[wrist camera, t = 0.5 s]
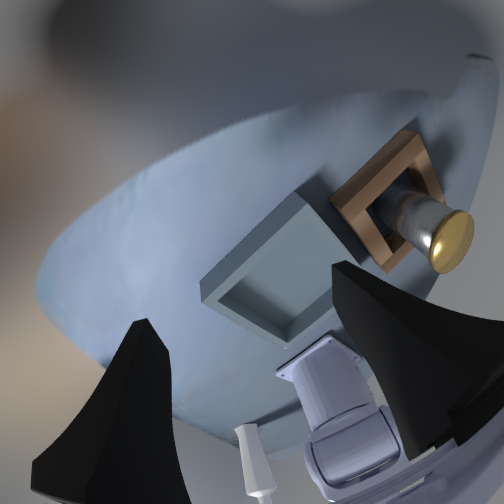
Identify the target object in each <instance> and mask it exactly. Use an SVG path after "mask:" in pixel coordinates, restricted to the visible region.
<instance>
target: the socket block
mask: <svg viewBox="0 0 504 504" xmlns="http://www.w3.org/2000/svg"><path fill="white" fill-rule="evenodd" d="M406 168H407V170H408V172H409V174H410V176H411V178H412V180H413V183H414V185H415V187H416V189H418V190H420V191H422V192H424V193H426V194H428V195H429V196H431V197H433V198H435V199H436V200H438V201H440V202H442V203H443V204H445V205H446V202H445V199H444V196H443V193H442V190H441V187H440V184H439V181H438V179H437V176H436V173H435V171H434V168H433V166H432V163H431V161H430V158H429V156H428V154H427V151H426V149H425V147H424V144H423V142H422V140H421V138H420V136H419V133H416V132H412V131H408V130H405V129H401V130H400V131H399V132H398V133H397V134H396V135H395V136H394V137H393V138H392V139H391V140H390V141H389V142H388V143H387V144H386V145H385V146H384V147H383V148H382V149H381V150H380V151H379V152H378V153H377V154H376V155H375V156H373V157H372V158H371V159H370V160H369V161H368V162H367V163H366V164H365V165H364V166H363V167H362V168H361V169H360V170H359V171H358V172H357V173H356V174H355V175H354V176H353V177H352V178H350V179H349V180H348V181H347V182H346V183H345V184H344V185H343V186H342V187H341V188H340V189H339V190H338V191H337V192H336V193H335V194H334V195H333V196H331V197H330V198H329V199H328V200H329V201H330V203H331V204H332V205H333V206H334V208H335V209H336V210H337V211H338V213H339V214H340V215H341V217H342V218H343V219H344V220H345V222H346V223H347V224H348V226H349V227H350V228H351V230H352V231H353V232H354V234H355V235H356V236H357V238H358V239H359V240H360V242H361V243H362V245H363V246H364V247H365V249H366V250H367V252H368V253H369V254H370V256H371V257H372V259H373V260H374V261H375V263H376V264H377V265H378V266H379V267H380V268H381V269H382V270H383V271H384V272H385V273H386V274H387V273H388V272H390V271H391V270H392V269H393V268H394V267H395V266H396V265H397V264H398V263H399V262H400V261H401V260H402V259H403V258H404V257H405V256H406V255H407V254H408V253H409V252H410V251H411V250H412V249H413V248H414V246H413V245H412V244H410V243H409V242H408V241H407V240H405V239H404V238H403V237H402V236H400V235H399V234H398V233H397V232H395V231H393V232H392V233H391V234H390V235H389V236H388V237H387V238H386V239H385V240H384V238H383V237H382V235H381V234H380V232H379V230H378V229H377V227H376V226H375V224H374V222H373V221H372V219H371V218H370V216H369V215H368V213H367V212H366V210H365V209H366V208H367V207H368V206H369V205H370V204H371V203H372V202H373V201H374V200H375V199H376V198H377V197H378V196H379V195H380V194H381V193H382V192H383V191H384V190H385V189H386V188H387V187H388V186H389V185H390V184H391V183H392V182H393V181H394V180H395V179H396V178H397V177H398V176H399V175H400V174H401V173H402V172H403V171H404V170H405V169H406Z"/></svg>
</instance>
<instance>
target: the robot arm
mask: <svg viewBox="0 0 504 504" xmlns="http://www.w3.org/2000/svg"><path fill="white" fill-rule="evenodd" d="M331 269H332V304H333V306H334V308H335V310H336V312H337V314H338V316H339V318H340V320H341V322H342V324H343V325H344V327H345V329H346V330H347V332H348V333H349V335H350V336H351V338H352V339H353V341H354V342H355V344H356V345H357V347H358V348H359V350H360V351H361V353H362V354H363V356H364V358H365V359H366V361H367V362H368V364H369V365H370V367H371V369H372V371H373V372H374V374H375V376H376V378H377V380H378V383H379V384H380V387H381V389H382V391H383V393H384V396H385V397H386V400H387V402H388V405H389V406H385V405H382V406H380V407H379V409H378V407H377V405H376V404H375V400H374V396H373V393H372V391H371V390H370V388H369V386H368V384H367V382H366V380H365V379H364V377H363V375H362V373H361V371H360V370H359V368H358V366H357V364H356V363H357V362H358V361H360V360H361V357H360V356H359V355H358V354H357V353H355V352H354V351H352V350H351V349H349V348H348V347H347V346H345V345H344V344H342V343H341V342H339V341H338V340H337V339H335V338H334V337H332V336H331V335H326V336H324V337H323V338H322V339H320V340H319V341H318V342H316V343H315V344H314V345H312V346H311V347H310V348H308V349H307V350H306V351H304V352H303V353H302V354H300V355H299V356H297V357H296V358H295V359H293V360H292V361H290V362H289V363H288V364H286V365H285V366H283V367H282V368H280V369H279V370H277V371H276V372H275V374H276V376H277V377H280V378H283V379H285V380H288V381H290V382H293V383H294V385H295V388H296V391H297V393H298V396H299V399H300V401H301V404H302V406H303V409H304V412H305V414H306V417H307V420H308V422H309V425H310V428H311V430H312V433H309V437H310V439H311V441H309V442H307V443H306V446H305V448H304V459H305V463H306V466H307V469H308V471H309V473H310V475H311V477H312V479H313V480H314V481H315V483H316V484H317V485H318V486H319V488H320V490H321V492H322V494H323V496H324V497H325V498H327V500H328V501H331V502H333V503H330V504H487V503H488V502H489V500H490V499H491V498H492V497H493V496H494V495H495V494H496V492H497V491H498V490H499V489H500V488H501V486H502V485H503V484H504V321H498V320H490V319H484V318H479V317H474V316H470V315H466V314H462V313H459V312H455V311H452V310H449V309H445V308H443V307H440V306H437V305H434V304H432V303H429V302H427V301H424V300H422V299H419V298H417V297H415V296H413V295H411V294H409V293H406V292H404V291H402V290H400V289H398V288H396V287H394V286H392V285H390V284H389V283H387V282H385V281H383V280H381V279H379V278H377V277H376V276H374V275H372V274H370V273H368V272H367V271H365V270H363V269H361V268H360V267H358V266H356V265H354V264H352V263H351V262H349V261H347V260H344V261H341V262H338V263H335V264H332V265H331ZM379 410H380V411H379ZM433 446H434V447H435V448H436V450H435V451H434V452H432V453H431V454H429V455H427V456H426V457H424V458H423V459H421V460H420V461H418V462H417V463H415V464H413V465H412V463H413V459H415V458H416V457H418V456H420V455H421V454H423V453H424V452H426V451H427V450H429V449H430V448H432V447H433ZM389 459H391V460H390V461H388V460H389ZM386 461H388V462H387V463H385V464H383V465H382V466H379V465H380V464H382V463H384V462H386ZM377 466H379V467H378V468H375V467H377ZM373 468H375V469H373ZM371 469H373V470H372V471H369V472H368V473H365V474H363V475H361V476H359V477H356V478H354V479H352V480H349V479H351V478H353V477H355V476H358V475H360V474H362V473H364V472H366V471H368V470H371ZM425 475H426V476H425ZM424 476H425V478H424V481H423V482H422V483H420V484H418V485H415V486H413V487H411V488H410V489H408V490H406V491H404V492H403V493H400V490H402V489H404V488H406V487H407V486H409V485H411V484H412V483H414V482H416V481H417V480H419V479H421V478H422V477H424ZM346 480H349V481H346ZM31 490H32V491H33V492H35V493H37V494H39V495H41V496H44V497H46V498H49V499H52V500H54V501H57V502H60V503H63V504H192V503H191V501H190V498H189V495H188V493H187V490H186V486H185V484H184V480H183V476H182V473H181V469H180V465H179V461H178V457H177V452H176V446H175V441H174V435H173V426H172V379H171V366H170V358H169V351H168V349H167V348H166V346H165V345H164V343H163V342H162V340H161V339H160V337H159V336H158V334H157V333H156V331H155V330H154V328H153V327H152V325H151V324H150V322H149V320H148V319H147V318H146V319H142V320H138V321H134V322H133V323H132V325H131V326H130V328H129V330H128V332H127V333H126V335H125V337H124V339H123V341H122V343H121V344H120V346H119V348H118V350H117V352H116V354H115V356H114V357H113V359H112V361H111V363H110V365H109V367H108V368H107V370H106V372H105V373H104V375H103V377H102V379H101V380H100V382H99V384H98V386H97V387H96V389H95V390H94V392H93V394H92V395H91V397H90V398H89V400H88V401H87V402H86V404H85V405H84V407H83V408H82V410H81V411H80V412H79V414H78V415H77V416H76V417H75V419H74V420H73V421H72V422H71V424H70V425H69V426H68V427H67V428H66V430H65V431H64V432H63V433H62V434H61V435H60V436H59V437H58V438H57V439H56V440H55V441H54V443H53V444H51V446H49V447H48V448H47V449H46V450H45V451H44V452H43V453H42V454H41V455H39V456H38V457H37V458H36V459H35V460H33V462H32V473H31ZM43 504H47V503H43Z"/></svg>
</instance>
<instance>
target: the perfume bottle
mask: <svg viewBox="0 0 504 504" xmlns="http://www.w3.org/2000/svg"><path fill="white" fill-rule="evenodd" d="M234 430H235V432H236V433H237V435H238V437H239V444H240V451H241V459H242V465H243V472H244V479H245V486H246V492H247V495H251V496H254V497H258V500H259V504H273V503H272V499H271V496H270V495H271V494H272V493H273V492H274V491H275V490H276V489H277V486H276V483H275V481H274V478H273V475H272V473H271V470H270V467H269V465H268V462H267V459H266V456H265V454H264V451H263V448H262V445H261V442H260V440H259V437H258V434H257V424H242V425H240V426H239V427H237V428H236V429H234Z"/></svg>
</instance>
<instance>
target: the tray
mask: <svg viewBox="0 0 504 504" xmlns="http://www.w3.org/2000/svg"><path fill="white" fill-rule="evenodd" d="M344 260H347V261H349V262H351V263H352V264H354V265H356V266H358V267H360V268H361V266H360V265H359V264H358V263H357V261H356V260H355V259H354V258H353V256H352V255H351V254H350V253H349V251H348V250H347V249H346V248H345V246H344V245H343V244H342V243H341V242H340V240H339V239H338V238H337V237H336V236H335V234H334V233H333V232H332V231H331V230H330V228H329V227H328V226H327V225H326V224H325V223H324V221H323V220H322V219H321V218H320V217H319V216H318V214H317V213H316V212H315V211H314V210H313V209H312V208H311V206H310V205H309V204H308V203H307V202H306V201H305V200H304V199H303V198H301V197H300V196H299V195H298V194H297V193H296V192H295V191H294V192H293V193H291V194H290V195H289V196H288V197H287V198H286V199H285V200H284V201H283V202H282V203H281V204H280V205H279V206H278V207H277V208H276V209H275V210H274V211H273V212H271V213H270V214H269V215H268V216H267V217H266V218H265V219H264V220H263V221H262V222H261V223H260V224H259V225H258V226H257V227H256V228H255V229H254V230H253V231H252V232H251V233H250V234H248V235H247V236H246V237H245V238H244V239H243V240H242V241H241V242H240V243H239V244H238V245H237V246H236V247H235V248H234V249H233V250H232V251H231V252H230V253H229V254H228V255H227V256H226V257H225V258H224V259H223V260H222V261H221V262H220V263H219V264H217V265H216V266H215V267H214V268H213V269H212V270H211V271H210V272H209V273H208V274H207V275H206V276H205V277H204V278H203V279H202V280H201V281H200V292H201V303H203V304H205V305H206V306H208V307H209V308H211V309H213V310H214V311H216V312H218V313H219V314H221V315H223V316H225V317H226V318H228V319H230V320H231V321H233V322H235V323H237V324H238V325H240V326H242V327H244V328H245V329H247V330H249V331H251V332H252V333H254V334H256V335H258V336H260V337H261V338H263V339H265V340H267V341H269V342H271V343H272V344H274V345H276V346H278V347H280V348H282V349H284V350H288V349H289V348H290V347H292V346H293V345H294V344H296V343H297V342H298V341H300V340H301V339H302V338H304V337H305V336H306V335H307V334H309V333H310V332H311V331H313V330H314V329H315V328H316V327H318V326H319V325H320V324H321V323H323V322H324V321H325V320H326V319H328V318H329V317H330V316H331V315H332V314H334V313H335V312H336V310H335V308H334V306H333V304H332V269H331V265H332V264H335V263H338V262H341V261H344ZM361 269H362V268H361Z"/></svg>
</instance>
